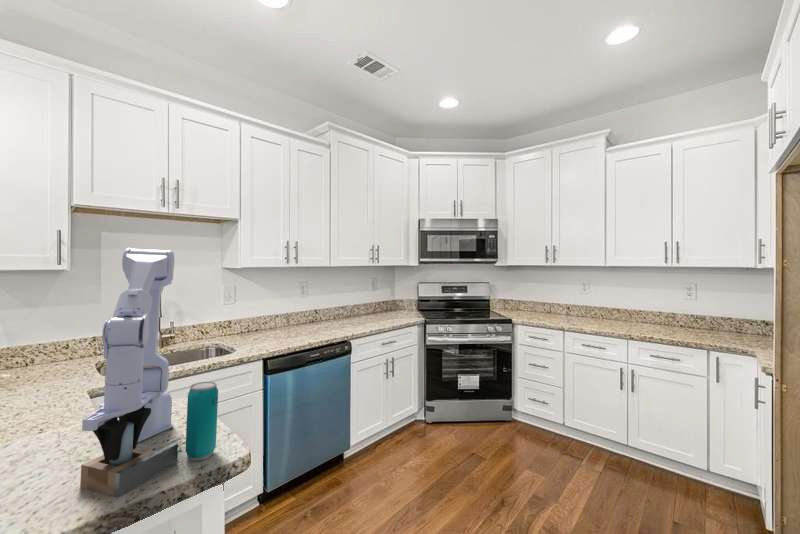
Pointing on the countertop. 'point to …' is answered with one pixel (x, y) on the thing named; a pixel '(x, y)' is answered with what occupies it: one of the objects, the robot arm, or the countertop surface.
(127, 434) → the dowel
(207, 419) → the beverage can
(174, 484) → the countertop surface
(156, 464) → the wall
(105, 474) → the block
